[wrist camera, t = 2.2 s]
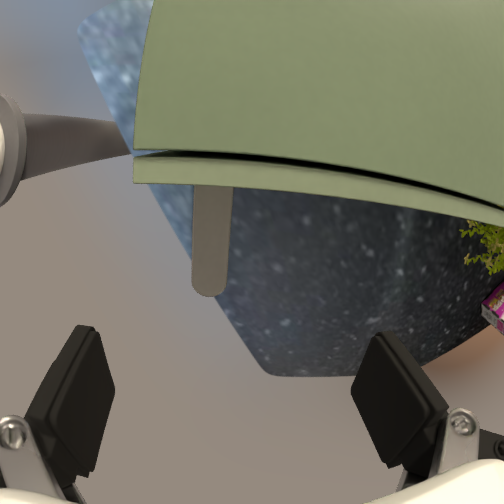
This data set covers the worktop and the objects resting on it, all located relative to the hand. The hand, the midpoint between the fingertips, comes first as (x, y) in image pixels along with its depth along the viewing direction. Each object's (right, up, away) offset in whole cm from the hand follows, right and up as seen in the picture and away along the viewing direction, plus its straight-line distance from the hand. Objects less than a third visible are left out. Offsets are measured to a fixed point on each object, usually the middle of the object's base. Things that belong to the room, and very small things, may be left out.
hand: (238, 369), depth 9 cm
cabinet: (+8, +24, +21) cm, 33 cm away
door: (+6, +12, +26) cm, 29 cm away
